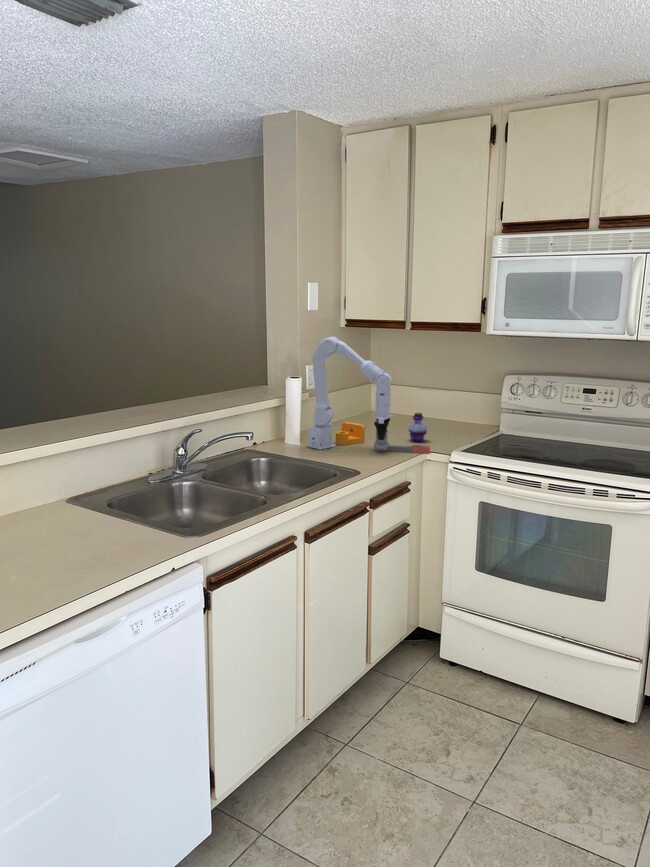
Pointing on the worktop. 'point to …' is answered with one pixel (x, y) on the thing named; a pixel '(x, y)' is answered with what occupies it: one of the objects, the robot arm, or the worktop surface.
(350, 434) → the bracket
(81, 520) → the worktop surface
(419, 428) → the potion bottle
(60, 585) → the worktop surface
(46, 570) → the worktop surface
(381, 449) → the ratchet
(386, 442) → the grey brushed cube
